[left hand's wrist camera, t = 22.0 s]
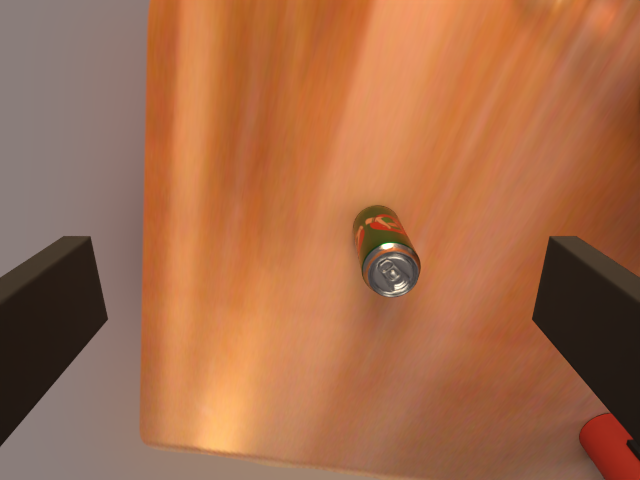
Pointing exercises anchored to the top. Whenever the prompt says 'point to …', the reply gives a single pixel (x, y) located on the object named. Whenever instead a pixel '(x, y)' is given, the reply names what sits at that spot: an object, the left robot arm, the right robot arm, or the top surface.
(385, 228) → the soda can
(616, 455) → the canister
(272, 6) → the top surface
